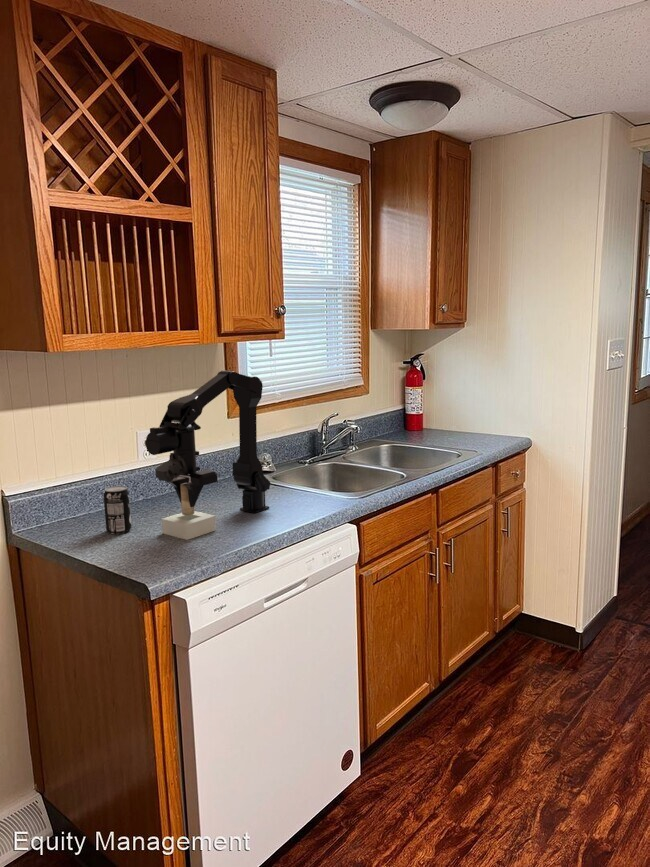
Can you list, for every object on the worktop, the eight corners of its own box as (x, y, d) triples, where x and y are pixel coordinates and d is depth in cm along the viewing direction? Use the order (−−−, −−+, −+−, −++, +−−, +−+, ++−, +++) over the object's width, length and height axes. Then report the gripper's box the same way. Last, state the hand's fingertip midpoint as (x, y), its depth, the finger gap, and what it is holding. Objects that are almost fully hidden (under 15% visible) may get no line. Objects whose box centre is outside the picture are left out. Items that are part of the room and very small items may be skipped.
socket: (191, 523, 186) (190, 510, 185) (216, 530, 180) (215, 515, 179) (162, 533, 178) (161, 518, 178) (187, 539, 172) (186, 525, 171)
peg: (189, 511, 180) (187, 482, 179) (196, 512, 178) (195, 483, 177) (179, 513, 178) (177, 484, 177) (187, 515, 176) (185, 486, 175)
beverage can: (122, 526, 186) (119, 484, 184) (136, 530, 181) (133, 487, 179) (101, 532, 181) (98, 489, 179) (115, 536, 176) (112, 492, 174)
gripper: (137, 450, 175) (141, 507, 177) (183, 457, 163) (187, 519, 166) (170, 443, 183) (174, 498, 186) (217, 450, 172) (220, 508, 174)
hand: (188, 506), depth 178 cm, fingers closed on peg, 3 cm apart
